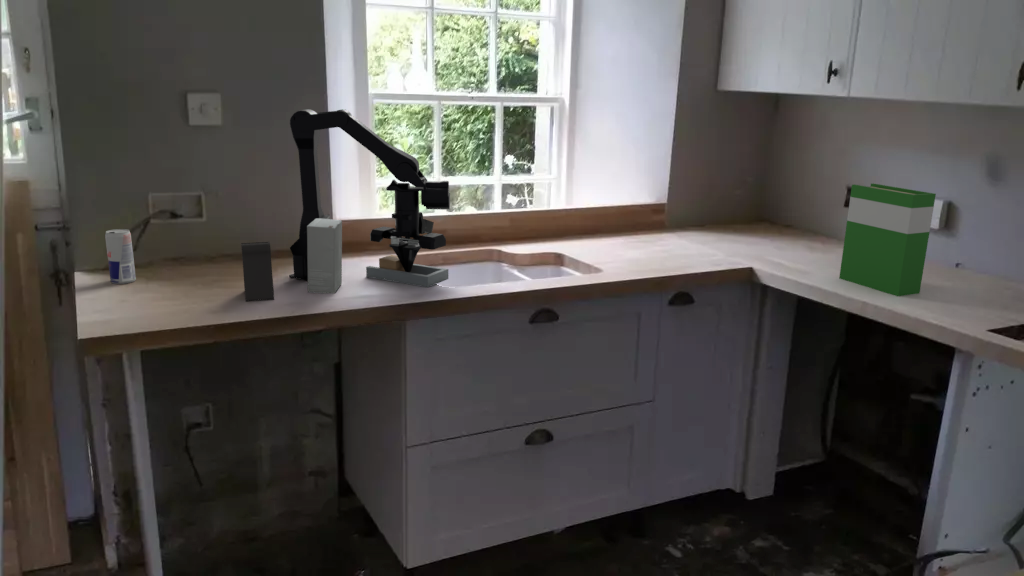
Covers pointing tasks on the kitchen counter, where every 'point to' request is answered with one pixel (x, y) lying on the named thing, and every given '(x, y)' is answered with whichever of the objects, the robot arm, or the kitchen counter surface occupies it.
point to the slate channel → (410, 275)
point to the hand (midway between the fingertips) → (408, 272)
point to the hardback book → (887, 238)
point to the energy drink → (120, 256)
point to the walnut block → (391, 263)
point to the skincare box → (324, 255)
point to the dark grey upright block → (257, 271)
